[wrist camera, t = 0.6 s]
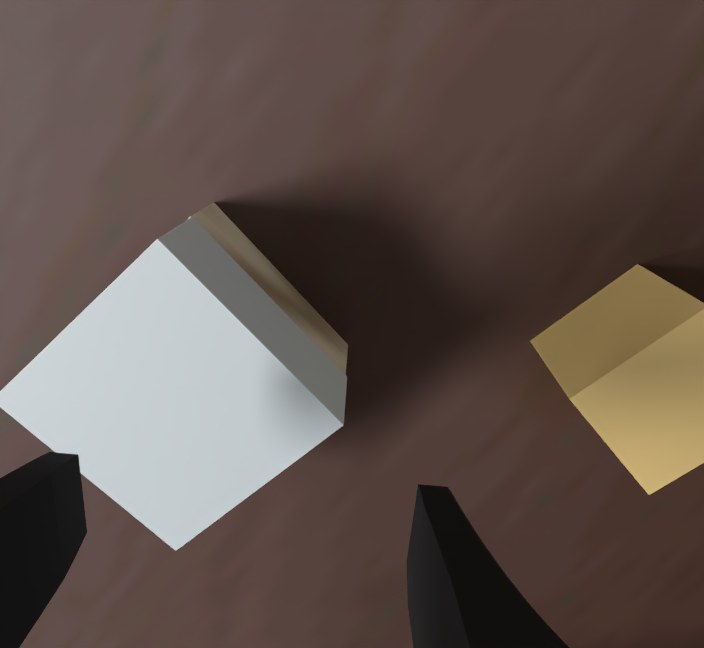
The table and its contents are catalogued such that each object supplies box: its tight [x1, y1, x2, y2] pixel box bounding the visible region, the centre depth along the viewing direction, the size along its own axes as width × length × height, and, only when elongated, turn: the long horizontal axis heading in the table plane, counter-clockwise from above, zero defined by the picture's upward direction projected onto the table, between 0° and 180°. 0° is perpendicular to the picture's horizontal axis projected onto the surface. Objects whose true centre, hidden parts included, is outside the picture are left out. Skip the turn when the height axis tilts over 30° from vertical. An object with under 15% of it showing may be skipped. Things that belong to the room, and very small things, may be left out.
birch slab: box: [187, 202, 348, 375], centre depth 20 cm, size 7×7×3 cm
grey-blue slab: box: [0, 217, 347, 551], centre depth 17 cm, size 7×7×3 cm
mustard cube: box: [530, 264, 704, 495], centre depth 19 cm, size 4×4×4 cm
